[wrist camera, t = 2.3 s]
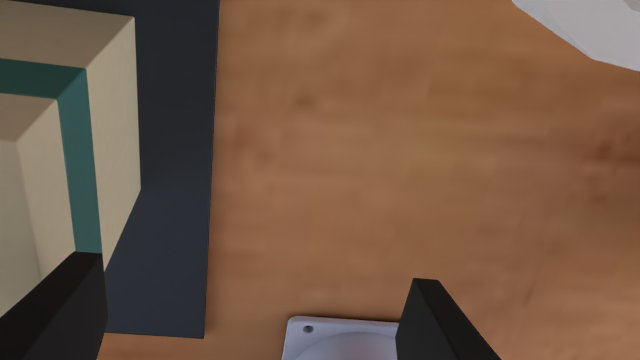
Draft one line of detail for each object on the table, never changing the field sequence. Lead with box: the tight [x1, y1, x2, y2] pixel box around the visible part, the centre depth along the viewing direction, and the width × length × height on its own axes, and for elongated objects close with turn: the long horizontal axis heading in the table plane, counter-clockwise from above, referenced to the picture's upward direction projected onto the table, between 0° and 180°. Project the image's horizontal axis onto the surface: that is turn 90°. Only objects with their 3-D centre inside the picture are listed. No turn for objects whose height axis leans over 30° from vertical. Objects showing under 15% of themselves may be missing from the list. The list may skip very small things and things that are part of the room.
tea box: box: [0, 0, 141, 317], centre depth 16 cm, size 5×7×9 cm, turn 172°
